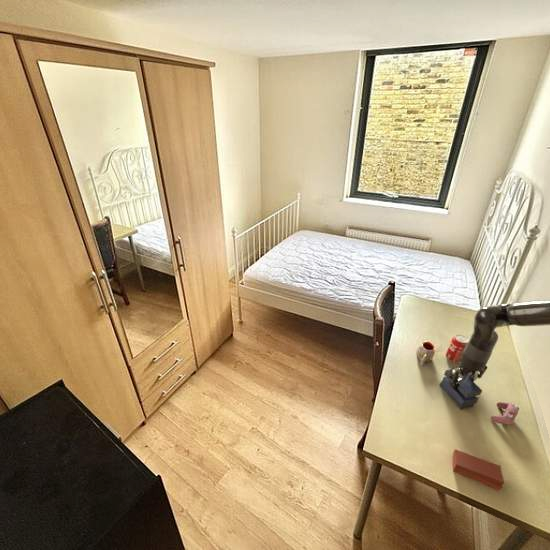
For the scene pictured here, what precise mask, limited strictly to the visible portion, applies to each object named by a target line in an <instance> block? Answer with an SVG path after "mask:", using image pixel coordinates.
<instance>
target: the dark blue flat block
mask: <svg viewBox="0 0 550 550" xmlns="http://www.w3.org/2000/svg"><path fill="white" fill-rule="evenodd" d="M454 368H455V367H454ZM457 368H458V367H456V368H455V369H457ZM450 371H451V368H450V369H446V370H445V372H444V374H443V375H444V377H447V378H448V379H449V374H450ZM459 374H460V375H461V376H462V377H463V375H462V374H461V373H459ZM458 379H459V377H458V378H457V380H458ZM449 380H450V379H449ZM450 382H451V381H450ZM457 389H458V390H459V391H460V392H461V393H462V394H463V395H464V397H465V398H469V397H474V396H476V397H478V396H481V394H482V392H483V390H482V389H481V388H480V386H479V385H478V384H476V383H475V381H474V382H473V381H472V380H471V379H470V378H469V377H467V378H466V379H465V380H462V381H461V382H460V383H459V385H458V387H457Z"/></svg>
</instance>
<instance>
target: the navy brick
mask: <svg viewBox="0 0 550 550" xmlns="http://www.w3.org/2000/svg"><path fill="white" fill-rule="evenodd" d="M450 385H451V382H450V380H449V379H448V378H447V377H446V376H443V378H442V380H441V381H440V382H439V388H441V389H442V390H443V391H444V392H445V393H446V395H447V396H448V397H449V399H451V400H452V402H453V403H454V404H455V405H456V406H457V407H458V408H459V410H464V409H468V408H472V407H475V405H476V404H477V402H478V401H479V398H478V396H474V397H469V398H465V397H464V395H463V394H462V393H461V392H460V391H459V390H458V389H456V390H453V389H452V388H451V386H450Z"/></svg>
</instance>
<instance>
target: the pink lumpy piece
mask: <svg viewBox="0 0 550 550" xmlns="http://www.w3.org/2000/svg"><path fill="white" fill-rule="evenodd" d="M496 406H497V407H499V408H500V409H503V410H504V411H503V412H502V415H491V416H490V417H489V418H490V420H491V421H492V422H494V423H496V424H501V425H513V424H514V422H515V420H516V417H517V416H518V414H519V411H520V407H518V406H517V405H516V404H515V403H512V402H504V401H498V402H497V403H496Z"/></svg>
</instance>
